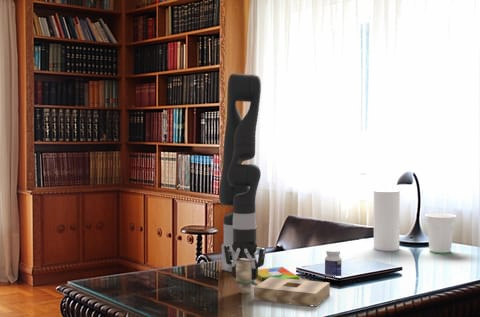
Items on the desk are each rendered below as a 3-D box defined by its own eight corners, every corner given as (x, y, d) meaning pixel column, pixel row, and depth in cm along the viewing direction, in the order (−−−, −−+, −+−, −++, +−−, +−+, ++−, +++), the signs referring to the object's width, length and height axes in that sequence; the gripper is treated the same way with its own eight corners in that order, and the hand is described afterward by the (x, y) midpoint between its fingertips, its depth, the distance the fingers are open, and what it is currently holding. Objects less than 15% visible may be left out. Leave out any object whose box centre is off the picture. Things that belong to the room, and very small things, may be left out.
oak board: (253, 299, 199) (253, 287, 199) (270, 289, 212) (270, 276, 212) (315, 307, 191) (315, 293, 191) (329, 295, 204) (329, 282, 204)
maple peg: (232, 293, 207) (232, 261, 206) (240, 289, 212) (240, 257, 211) (249, 295, 204) (249, 262, 204) (257, 291, 210) (256, 259, 209)
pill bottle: (341, 281, 222) (340, 252, 221) (324, 280, 223) (324, 251, 222) (341, 277, 227) (341, 249, 227) (325, 276, 228) (325, 248, 228)
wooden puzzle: (264, 291, 212) (264, 280, 212) (239, 278, 229) (239, 269, 228) (310, 284, 219) (310, 274, 219) (282, 273, 236) (282, 263, 236)
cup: (459, 250, 271) (459, 214, 270) (451, 256, 260) (451, 218, 259) (429, 247, 277) (429, 212, 276) (420, 252, 267) (420, 216, 266)
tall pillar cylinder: (401, 250, 272) (402, 191, 270) (376, 251, 272) (376, 191, 270) (396, 245, 282) (396, 188, 281) (371, 246, 282) (371, 189, 281)
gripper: (219, 227, 206) (219, 279, 207) (260, 229, 201) (261, 283, 201) (229, 223, 213) (229, 274, 214) (269, 226, 207) (270, 278, 208)
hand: (245, 278), depth 208 cm, fingers closed on maple peg, 5 cm apart
